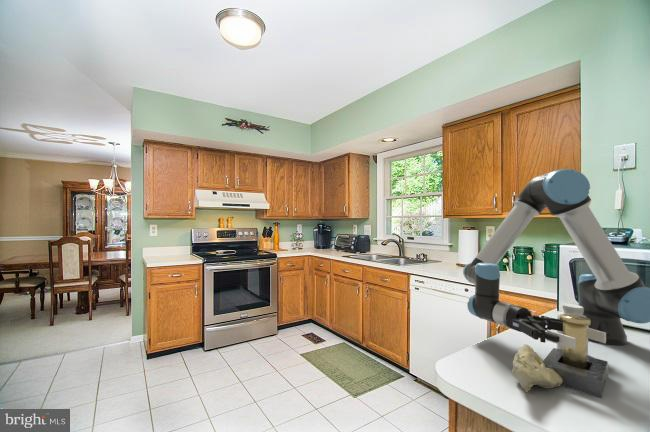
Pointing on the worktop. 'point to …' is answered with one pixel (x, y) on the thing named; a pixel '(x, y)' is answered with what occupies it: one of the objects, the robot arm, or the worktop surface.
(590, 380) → the block
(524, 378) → the beige rock
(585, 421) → the worktop surface
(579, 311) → the pill bottle
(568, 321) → the brass flanged peg
